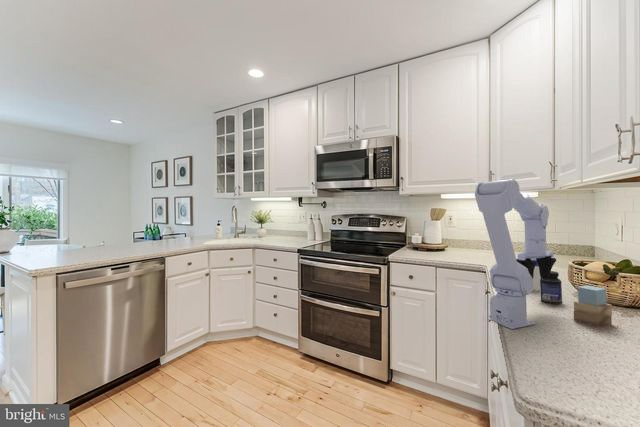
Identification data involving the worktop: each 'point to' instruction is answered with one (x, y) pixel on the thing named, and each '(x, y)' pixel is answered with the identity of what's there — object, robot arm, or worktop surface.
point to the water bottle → (535, 275)
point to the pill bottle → (551, 289)
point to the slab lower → (592, 319)
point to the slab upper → (593, 309)
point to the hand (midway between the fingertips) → (536, 279)
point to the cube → (592, 295)
